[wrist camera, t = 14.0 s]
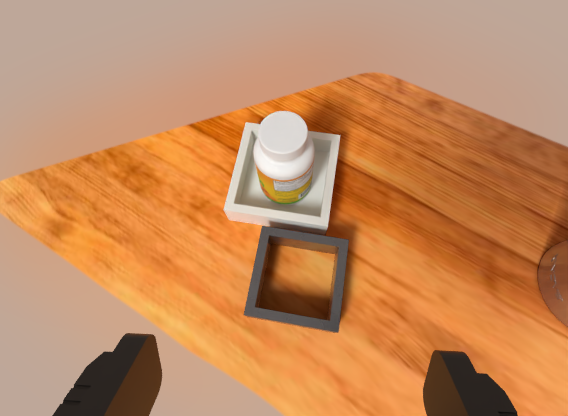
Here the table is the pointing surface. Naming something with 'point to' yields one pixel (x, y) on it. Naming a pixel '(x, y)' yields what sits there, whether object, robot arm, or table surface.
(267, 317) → the holder sleeve
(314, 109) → the table surface
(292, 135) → the supplement bottle
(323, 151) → the tray
